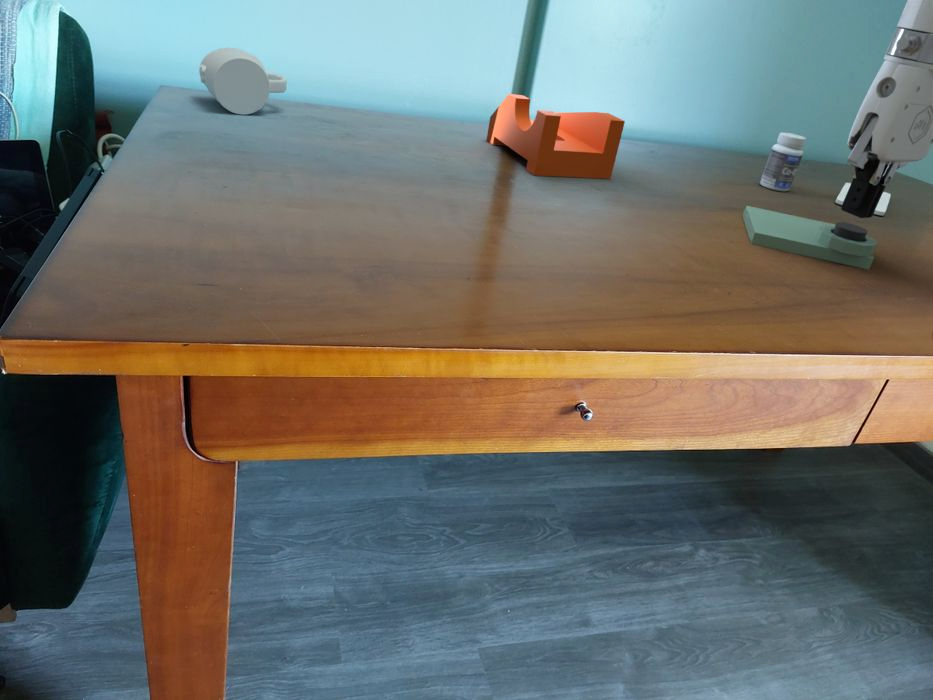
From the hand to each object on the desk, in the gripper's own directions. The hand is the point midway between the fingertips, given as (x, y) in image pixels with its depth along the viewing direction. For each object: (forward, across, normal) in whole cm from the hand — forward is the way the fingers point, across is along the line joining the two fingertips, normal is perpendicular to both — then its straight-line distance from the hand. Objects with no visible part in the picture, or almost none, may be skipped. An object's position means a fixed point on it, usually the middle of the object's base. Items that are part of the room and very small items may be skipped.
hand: (855, 213), depth 88 cm
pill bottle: (+6, +20, +25) cm, 32 cm away
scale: (+6, 0, +5) cm, 8 cm away
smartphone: (+6, +32, +17) cm, 37 cm away
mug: (+7, -53, +68) cm, 87 cm away
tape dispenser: (+6, -15, +41) cm, 44 cm away
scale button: (+3, 0, 0) cm, 3 cm away
